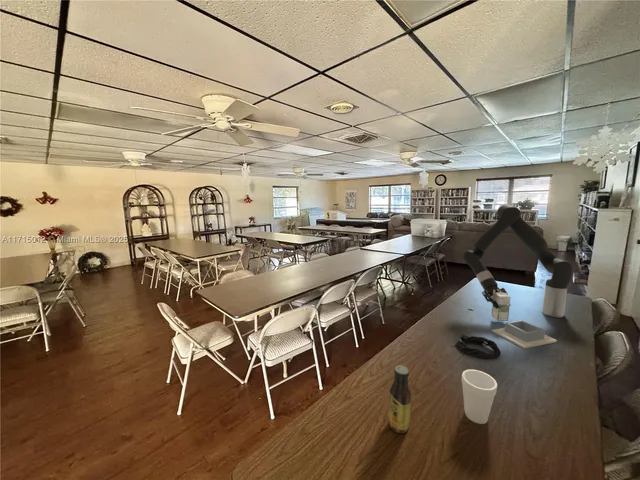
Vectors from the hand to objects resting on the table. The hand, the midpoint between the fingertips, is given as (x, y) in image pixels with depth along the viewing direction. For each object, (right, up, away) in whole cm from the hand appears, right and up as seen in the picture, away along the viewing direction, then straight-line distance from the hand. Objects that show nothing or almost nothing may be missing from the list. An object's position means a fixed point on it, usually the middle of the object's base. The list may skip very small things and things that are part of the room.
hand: (503, 307), depth 140 cm
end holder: (+1, -12, -12) cm, 17 cm away
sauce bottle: (-76, -21, -60) cm, 99 cm away
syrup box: (0, -7, +3) cm, 8 cm away
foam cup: (-50, -20, -57) cm, 79 cm away
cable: (-28, -14, -22) cm, 38 cm away
